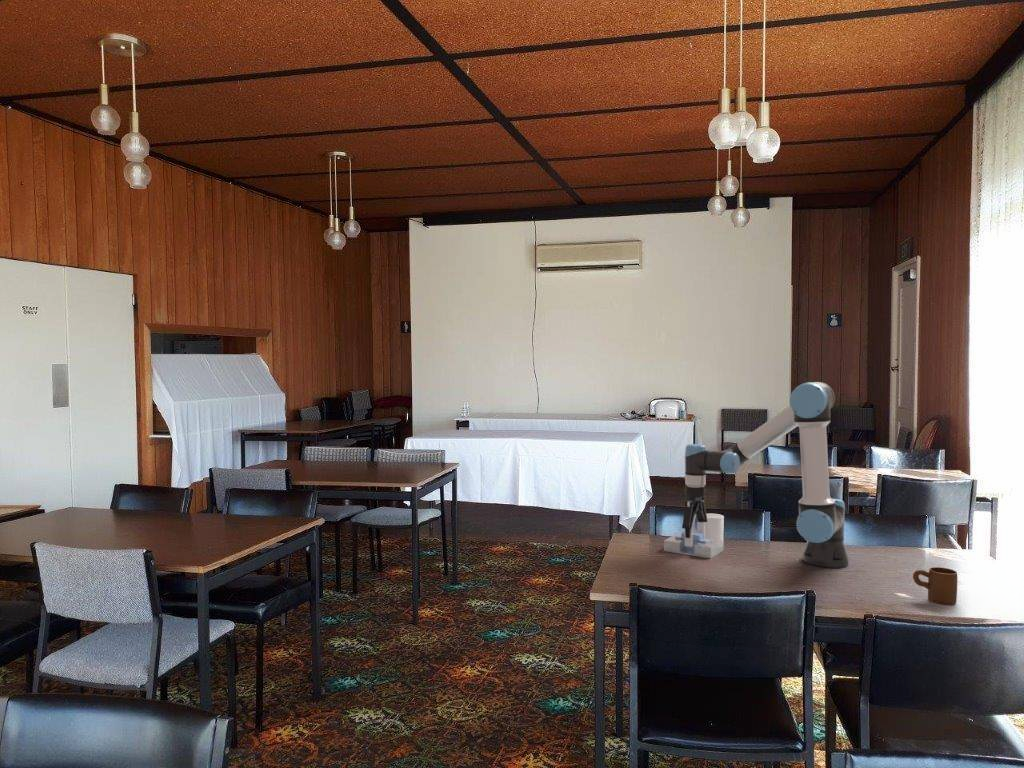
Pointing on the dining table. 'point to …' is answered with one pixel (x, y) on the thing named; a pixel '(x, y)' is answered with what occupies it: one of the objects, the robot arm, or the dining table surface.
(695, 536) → the servo
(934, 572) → the mug
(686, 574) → the dining table surface
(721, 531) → the cup
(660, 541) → the dining table surface
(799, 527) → the robot arm
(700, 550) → the chassis
